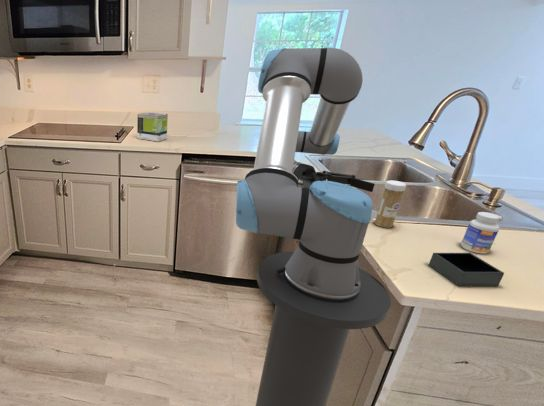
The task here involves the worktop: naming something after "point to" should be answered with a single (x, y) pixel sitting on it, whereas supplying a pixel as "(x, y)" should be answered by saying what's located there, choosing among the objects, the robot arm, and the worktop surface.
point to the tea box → (152, 126)
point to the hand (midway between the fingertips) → (360, 192)
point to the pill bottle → (481, 233)
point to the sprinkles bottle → (389, 203)
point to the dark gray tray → (466, 269)
